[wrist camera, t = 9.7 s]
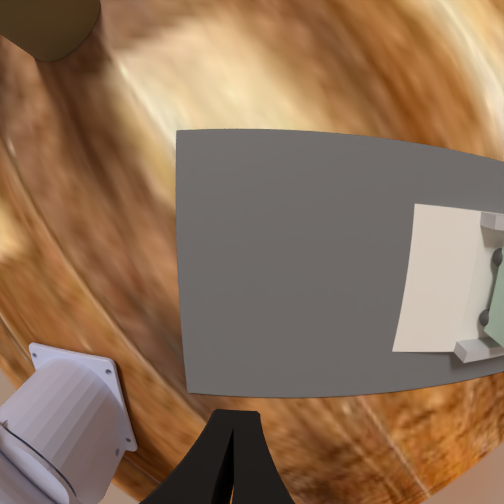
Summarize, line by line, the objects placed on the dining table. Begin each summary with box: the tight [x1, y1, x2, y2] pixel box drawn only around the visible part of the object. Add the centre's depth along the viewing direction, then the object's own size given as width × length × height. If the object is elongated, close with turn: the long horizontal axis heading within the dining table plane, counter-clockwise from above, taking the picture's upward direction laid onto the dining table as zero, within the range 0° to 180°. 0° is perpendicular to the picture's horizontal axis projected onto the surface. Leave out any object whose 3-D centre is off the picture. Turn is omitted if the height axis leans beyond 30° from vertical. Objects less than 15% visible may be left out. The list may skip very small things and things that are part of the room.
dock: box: [176, 129, 504, 398], centre depth 16 cm, size 16×28×4 cm, turn 89°
